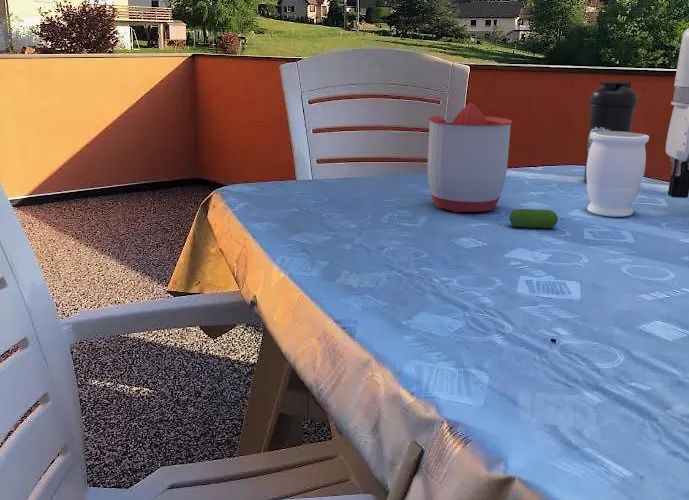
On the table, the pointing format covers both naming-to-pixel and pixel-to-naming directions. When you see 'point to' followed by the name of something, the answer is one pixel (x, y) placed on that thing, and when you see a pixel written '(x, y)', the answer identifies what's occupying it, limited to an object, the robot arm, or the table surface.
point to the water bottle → (611, 110)
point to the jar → (615, 171)
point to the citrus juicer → (468, 160)
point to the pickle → (533, 218)
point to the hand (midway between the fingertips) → (677, 196)
